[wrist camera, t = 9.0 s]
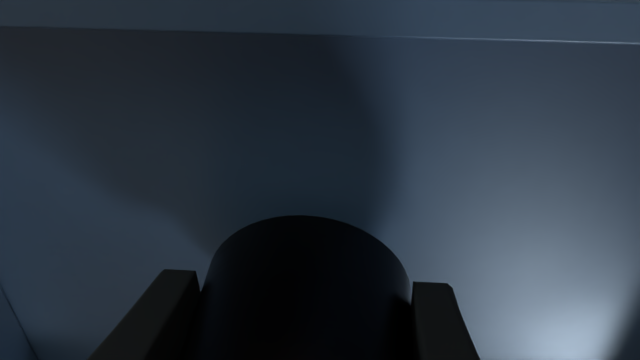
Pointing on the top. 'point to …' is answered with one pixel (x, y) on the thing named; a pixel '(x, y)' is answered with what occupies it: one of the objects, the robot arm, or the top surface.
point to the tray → (325, 155)
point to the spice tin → (302, 296)
